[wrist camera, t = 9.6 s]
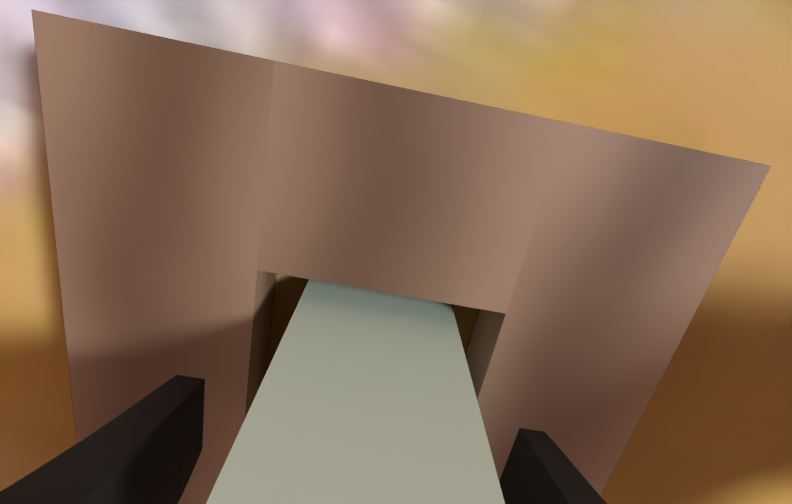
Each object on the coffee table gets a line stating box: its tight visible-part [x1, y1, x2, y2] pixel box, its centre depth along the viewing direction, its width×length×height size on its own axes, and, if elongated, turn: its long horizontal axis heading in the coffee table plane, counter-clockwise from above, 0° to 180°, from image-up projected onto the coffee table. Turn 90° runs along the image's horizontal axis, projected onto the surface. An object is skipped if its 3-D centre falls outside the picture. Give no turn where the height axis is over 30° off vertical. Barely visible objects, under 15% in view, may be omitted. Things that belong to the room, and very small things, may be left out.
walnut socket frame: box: [32, 10, 771, 504], centre depth 12 cm, size 15×15×2 cm
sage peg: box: [206, 279, 505, 504], centre depth 9 cm, size 4×4×8 cm
